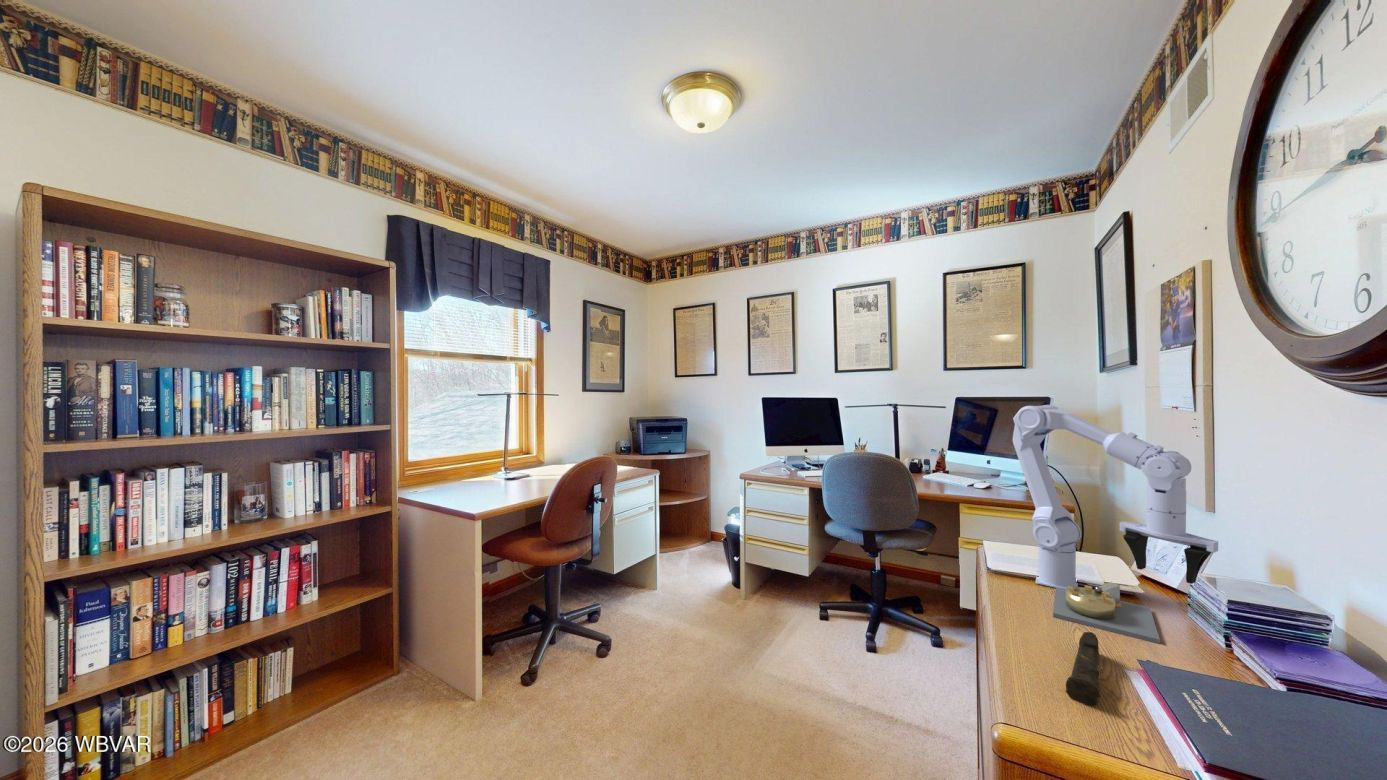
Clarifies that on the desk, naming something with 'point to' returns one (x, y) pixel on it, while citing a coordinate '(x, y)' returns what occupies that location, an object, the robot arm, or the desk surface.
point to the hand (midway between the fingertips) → (1165, 575)
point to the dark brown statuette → (1085, 671)
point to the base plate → (1125, 622)
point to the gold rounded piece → (1094, 600)
